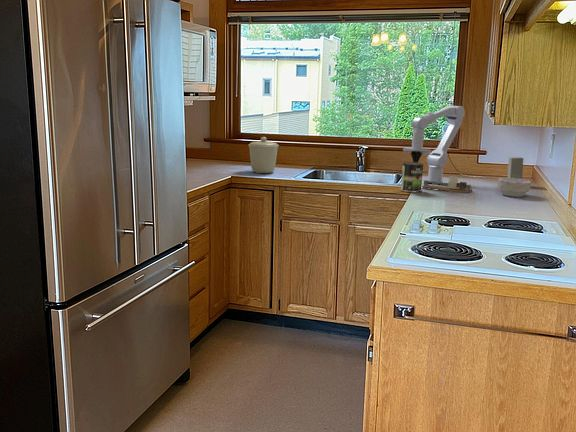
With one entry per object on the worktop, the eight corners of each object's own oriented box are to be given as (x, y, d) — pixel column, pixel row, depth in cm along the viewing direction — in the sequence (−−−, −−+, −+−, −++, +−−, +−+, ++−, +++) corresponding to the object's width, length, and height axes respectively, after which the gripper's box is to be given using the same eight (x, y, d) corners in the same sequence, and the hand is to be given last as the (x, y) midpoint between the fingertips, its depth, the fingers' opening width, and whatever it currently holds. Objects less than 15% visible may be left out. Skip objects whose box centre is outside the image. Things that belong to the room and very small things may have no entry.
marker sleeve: (449, 187, 288) (450, 176, 287) (457, 187, 286) (458, 176, 285) (448, 188, 285) (449, 176, 284) (455, 188, 283) (456, 177, 282)
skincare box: (521, 187, 301) (525, 158, 297) (508, 186, 302) (511, 157, 299) (518, 184, 309) (522, 156, 305) (505, 183, 310) (508, 155, 307)
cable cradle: (425, 185, 297) (426, 177, 296) (471, 190, 286) (472, 181, 285) (421, 188, 288) (421, 179, 287) (468, 193, 278) (469, 184, 277)
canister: (265, 169, 340) (266, 135, 335) (284, 173, 327) (285, 137, 322) (241, 171, 329) (242, 136, 324) (260, 175, 315) (260, 138, 311)
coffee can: (425, 192, 279) (427, 164, 276) (408, 192, 275) (410, 164, 272) (413, 188, 289) (415, 161, 285) (396, 189, 285) (398, 162, 282)
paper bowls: (532, 195, 279) (534, 179, 277) (525, 199, 266) (527, 183, 264) (500, 191, 287) (502, 176, 285) (493, 195, 275) (494, 179, 273)
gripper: (402, 139, 293) (400, 165, 296) (429, 142, 287) (427, 167, 290) (406, 139, 299) (403, 164, 302) (432, 141, 293) (430, 166, 296)
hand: (415, 165), depth 296 cm, fingers closed
